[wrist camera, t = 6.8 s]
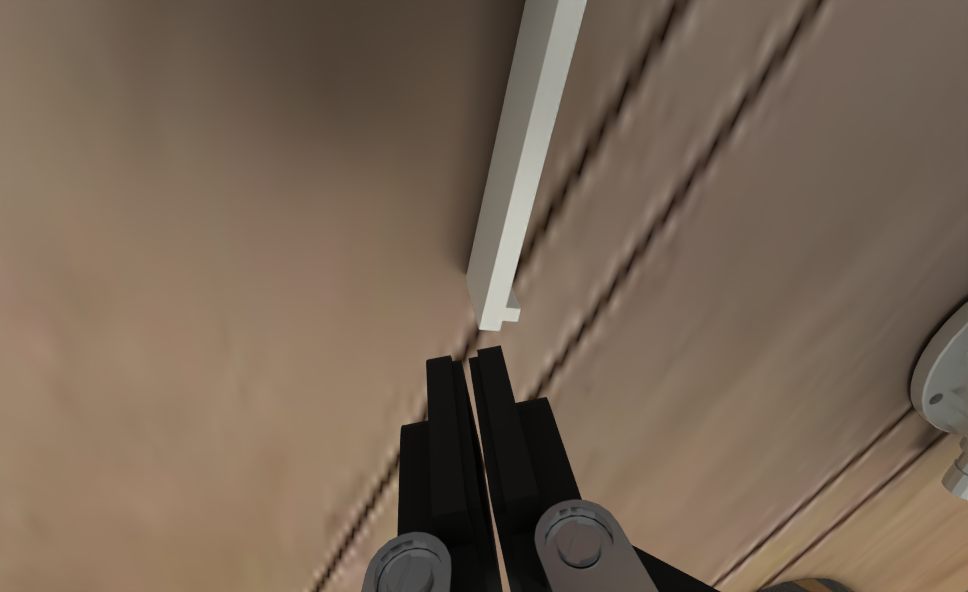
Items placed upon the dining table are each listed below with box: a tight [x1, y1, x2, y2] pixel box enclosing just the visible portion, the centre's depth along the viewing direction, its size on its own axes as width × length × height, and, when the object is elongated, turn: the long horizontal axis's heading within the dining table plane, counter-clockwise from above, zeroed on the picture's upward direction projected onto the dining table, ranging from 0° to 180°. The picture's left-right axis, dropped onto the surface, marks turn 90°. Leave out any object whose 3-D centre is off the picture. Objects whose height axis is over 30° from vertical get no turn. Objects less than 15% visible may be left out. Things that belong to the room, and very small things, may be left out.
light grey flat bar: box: [466, 0, 587, 331], centre depth 18 cm, size 2×13×4 cm, turn 167°
